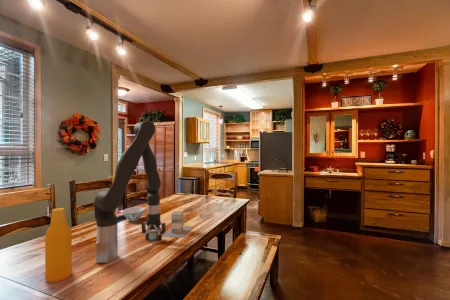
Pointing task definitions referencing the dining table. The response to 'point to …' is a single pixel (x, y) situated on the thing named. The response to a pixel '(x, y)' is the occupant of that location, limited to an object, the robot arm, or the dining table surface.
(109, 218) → the robot arm
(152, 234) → the cylinder
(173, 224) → the base block
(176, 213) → the top block
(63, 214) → the beer bottle
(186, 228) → the tower board
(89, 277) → the dining table surface
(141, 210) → the chinaware
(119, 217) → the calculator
